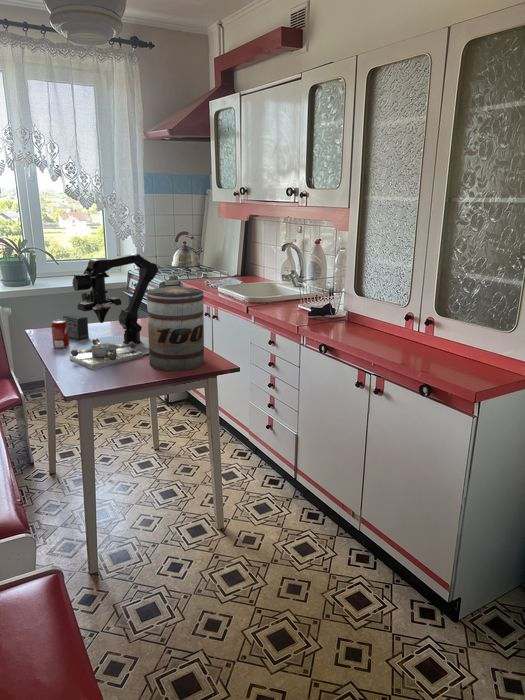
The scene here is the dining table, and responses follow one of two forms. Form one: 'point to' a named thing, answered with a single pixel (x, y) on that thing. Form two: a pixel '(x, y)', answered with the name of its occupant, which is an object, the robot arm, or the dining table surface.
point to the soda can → (60, 334)
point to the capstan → (103, 349)
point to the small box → (77, 326)
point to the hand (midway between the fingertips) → (101, 322)
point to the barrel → (175, 328)
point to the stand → (106, 358)
